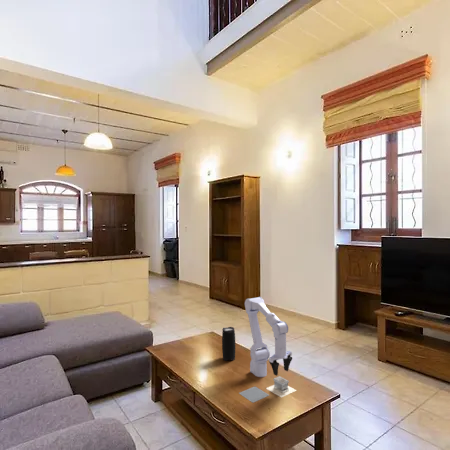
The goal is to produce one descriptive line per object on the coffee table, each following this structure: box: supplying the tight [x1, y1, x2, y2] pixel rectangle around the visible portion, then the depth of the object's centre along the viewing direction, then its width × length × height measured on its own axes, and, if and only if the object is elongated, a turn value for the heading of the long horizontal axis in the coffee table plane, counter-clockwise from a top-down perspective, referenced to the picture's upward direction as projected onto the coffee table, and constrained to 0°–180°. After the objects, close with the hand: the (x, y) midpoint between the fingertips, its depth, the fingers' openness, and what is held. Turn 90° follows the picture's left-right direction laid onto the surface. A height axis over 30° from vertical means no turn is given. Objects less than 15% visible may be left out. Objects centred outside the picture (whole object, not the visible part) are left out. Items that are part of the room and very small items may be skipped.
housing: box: [272, 375, 290, 393], centre depth 162 cm, size 6×4×5 cm
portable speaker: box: [221, 326, 236, 362], centre depth 203 cm, size 9×9×20 cm
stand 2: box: [265, 384, 297, 398], centre depth 162 cm, size 11×11×2 cm
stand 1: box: [238, 386, 270, 403], centre depth 157 cm, size 11×11×2 cm
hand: (280, 372), depth 162 cm, fingers open, 7 cm apart
